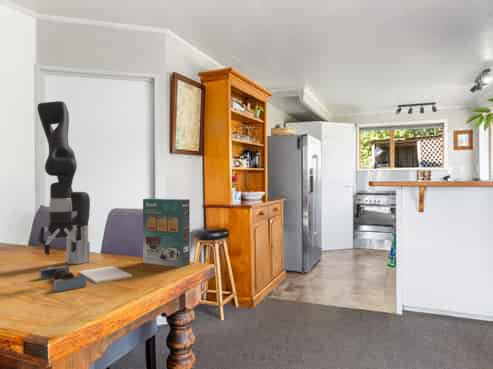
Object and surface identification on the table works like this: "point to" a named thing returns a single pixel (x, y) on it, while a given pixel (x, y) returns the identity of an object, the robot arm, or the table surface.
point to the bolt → (62, 274)
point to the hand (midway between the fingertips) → (60, 253)
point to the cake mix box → (166, 232)
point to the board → (104, 274)
